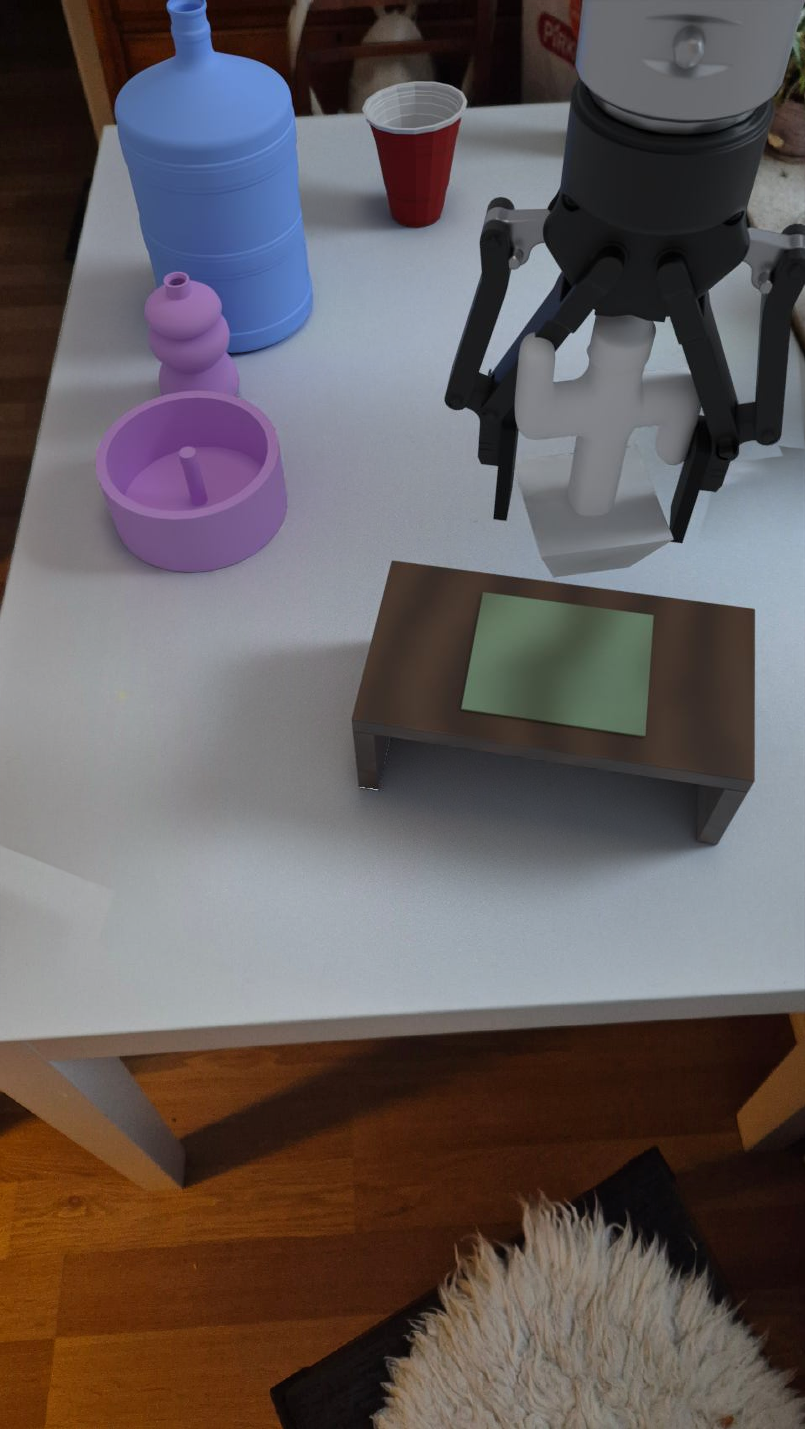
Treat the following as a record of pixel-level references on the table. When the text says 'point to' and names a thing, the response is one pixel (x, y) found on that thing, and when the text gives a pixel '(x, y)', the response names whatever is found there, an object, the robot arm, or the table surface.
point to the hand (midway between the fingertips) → (588, 513)
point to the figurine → (600, 447)
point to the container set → (192, 447)
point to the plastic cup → (415, 146)
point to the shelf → (563, 680)
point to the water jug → (219, 180)
